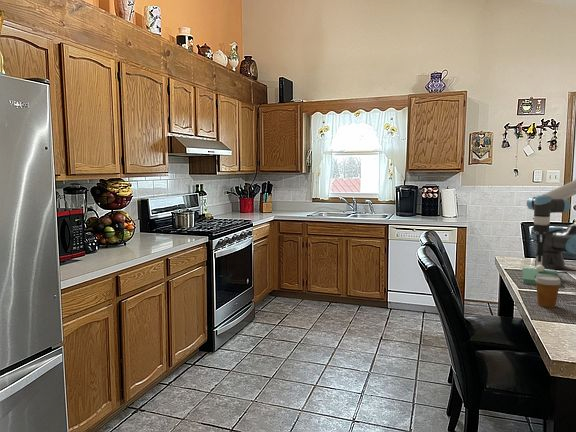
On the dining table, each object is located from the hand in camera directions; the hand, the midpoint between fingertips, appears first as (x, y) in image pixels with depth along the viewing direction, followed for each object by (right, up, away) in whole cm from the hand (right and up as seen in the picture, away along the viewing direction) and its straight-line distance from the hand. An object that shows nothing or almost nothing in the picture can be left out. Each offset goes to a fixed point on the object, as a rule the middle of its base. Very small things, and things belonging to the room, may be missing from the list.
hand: (538, 267), depth 236 cm
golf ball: (-2, 0, -5) cm, 6 cm away
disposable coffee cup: (-26, -10, -51) cm, 59 cm away
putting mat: (-5, -5, -10) cm, 12 cm away
